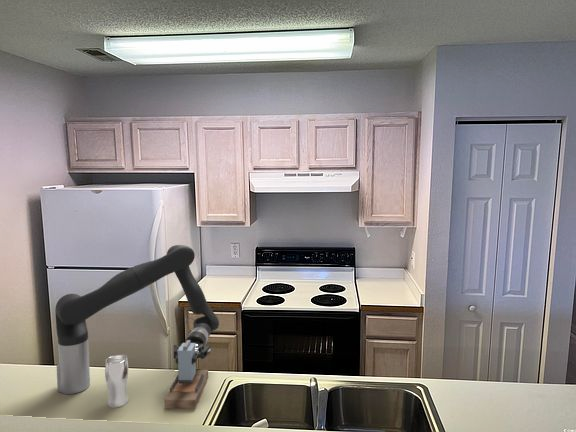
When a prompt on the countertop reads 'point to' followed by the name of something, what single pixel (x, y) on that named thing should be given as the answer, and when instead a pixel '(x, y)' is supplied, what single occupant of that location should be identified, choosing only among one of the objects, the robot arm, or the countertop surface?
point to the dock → (186, 392)
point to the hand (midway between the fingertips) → (185, 361)
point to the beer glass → (116, 380)
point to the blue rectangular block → (186, 363)
